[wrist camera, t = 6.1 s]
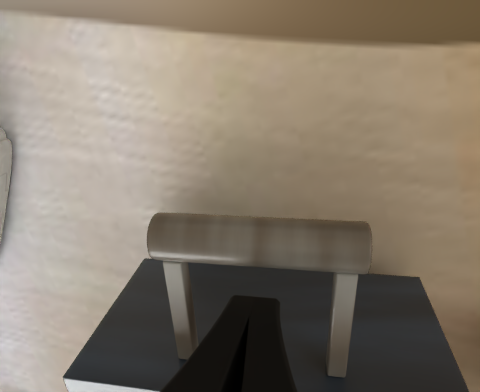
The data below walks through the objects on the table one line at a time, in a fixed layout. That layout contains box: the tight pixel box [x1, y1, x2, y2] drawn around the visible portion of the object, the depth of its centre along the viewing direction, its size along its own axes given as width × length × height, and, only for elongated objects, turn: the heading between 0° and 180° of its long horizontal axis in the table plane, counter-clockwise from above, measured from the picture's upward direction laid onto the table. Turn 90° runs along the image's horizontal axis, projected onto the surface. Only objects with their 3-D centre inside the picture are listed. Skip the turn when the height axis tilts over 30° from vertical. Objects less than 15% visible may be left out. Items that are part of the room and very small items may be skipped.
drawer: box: [63, 213, 469, 392], centre depth 16 cm, size 19×13×7 cm
